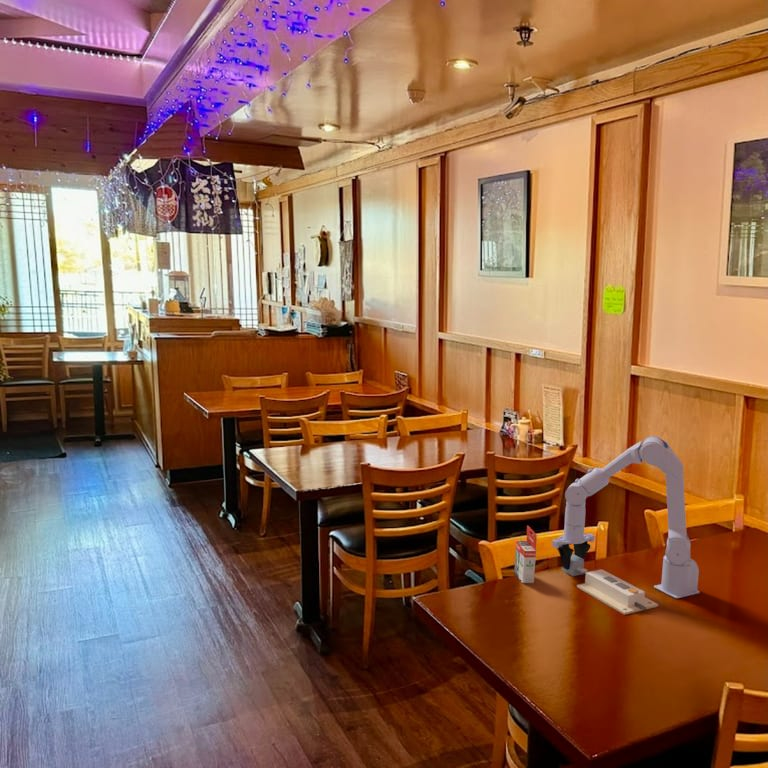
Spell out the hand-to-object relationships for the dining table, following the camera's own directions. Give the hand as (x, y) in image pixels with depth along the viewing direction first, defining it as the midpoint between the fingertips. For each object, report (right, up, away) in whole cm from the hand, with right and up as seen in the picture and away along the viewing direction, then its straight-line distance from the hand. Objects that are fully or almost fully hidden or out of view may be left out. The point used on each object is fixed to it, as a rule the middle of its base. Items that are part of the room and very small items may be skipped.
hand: (571, 567), depth 200 cm
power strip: (+8, -4, -16) cm, 18 cm away
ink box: (-15, -2, -5) cm, 16 cm away
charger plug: (+1, -2, -2) cm, 2 cm away
